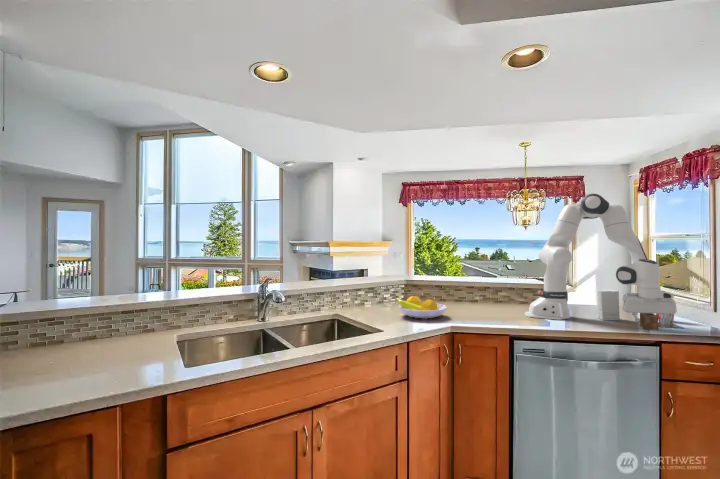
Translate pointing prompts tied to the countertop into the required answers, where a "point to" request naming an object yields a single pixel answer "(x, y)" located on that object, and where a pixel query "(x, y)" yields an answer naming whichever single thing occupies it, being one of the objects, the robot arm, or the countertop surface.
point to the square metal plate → (668, 323)
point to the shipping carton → (649, 321)
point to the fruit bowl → (421, 308)
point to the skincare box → (608, 305)
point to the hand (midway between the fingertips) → (649, 322)
